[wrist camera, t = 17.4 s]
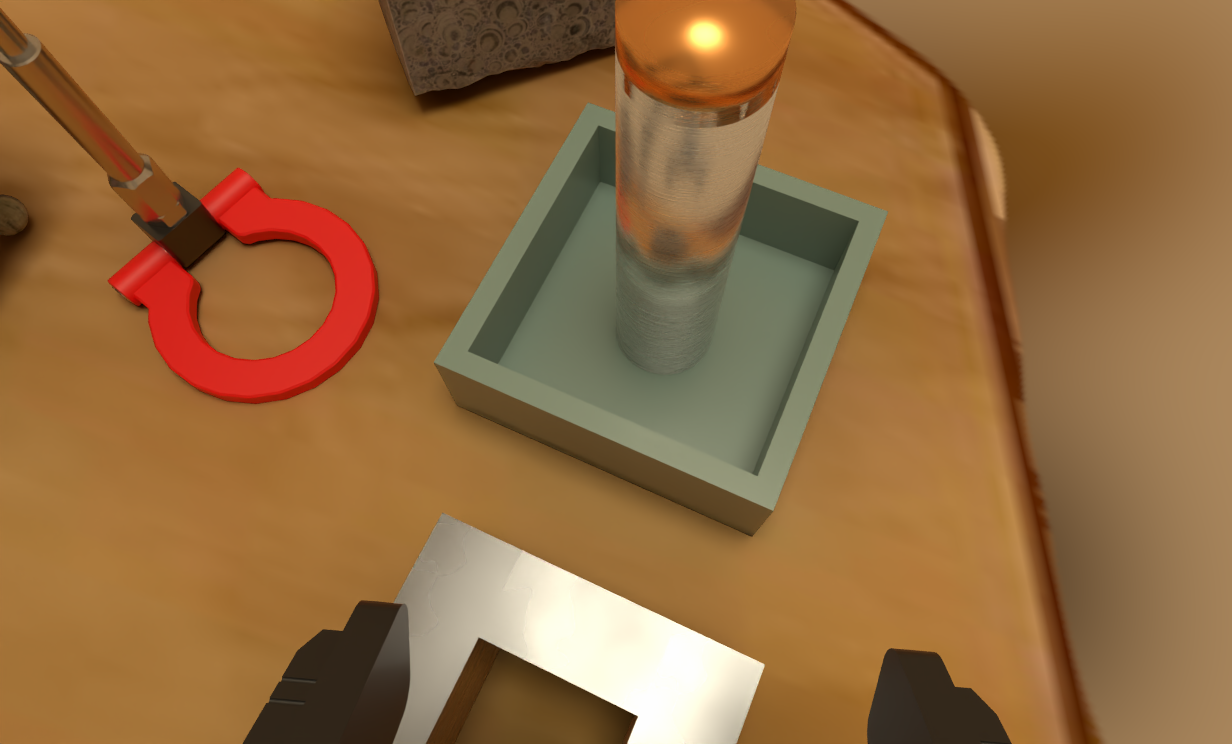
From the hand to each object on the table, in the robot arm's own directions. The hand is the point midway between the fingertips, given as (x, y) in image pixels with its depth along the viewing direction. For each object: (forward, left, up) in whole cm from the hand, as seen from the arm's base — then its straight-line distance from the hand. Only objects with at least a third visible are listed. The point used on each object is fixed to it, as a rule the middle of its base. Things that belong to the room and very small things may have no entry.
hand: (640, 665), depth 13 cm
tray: (+12, +4, -13) cm, 18 cm away
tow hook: (+7, +19, -14) cm, 24 cm away
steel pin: (+12, +4, -13) cm, 18 cm away
